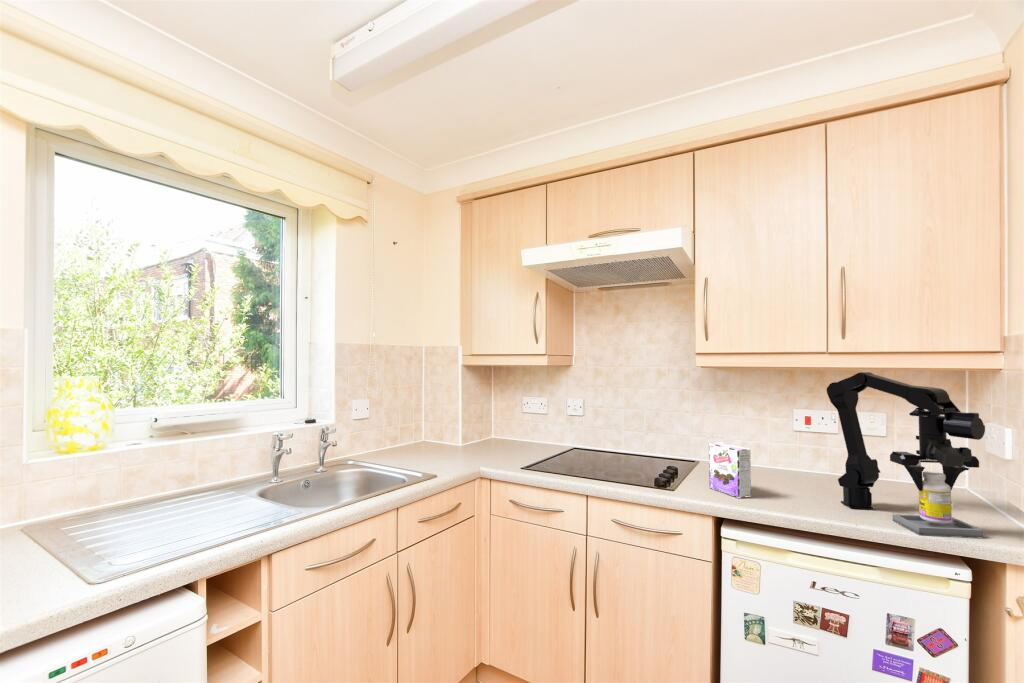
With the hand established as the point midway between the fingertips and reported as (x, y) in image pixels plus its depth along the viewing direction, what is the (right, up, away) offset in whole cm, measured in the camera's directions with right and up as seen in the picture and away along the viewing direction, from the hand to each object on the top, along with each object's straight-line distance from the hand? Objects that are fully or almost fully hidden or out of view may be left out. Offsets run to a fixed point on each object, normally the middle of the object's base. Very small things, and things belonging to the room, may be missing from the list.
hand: (934, 490), depth 131 cm
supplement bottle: (0, -8, 0) cm, 8 cm away
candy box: (-40, -12, +36) cm, 55 cm away
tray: (0, -10, 0) cm, 10 cm away
